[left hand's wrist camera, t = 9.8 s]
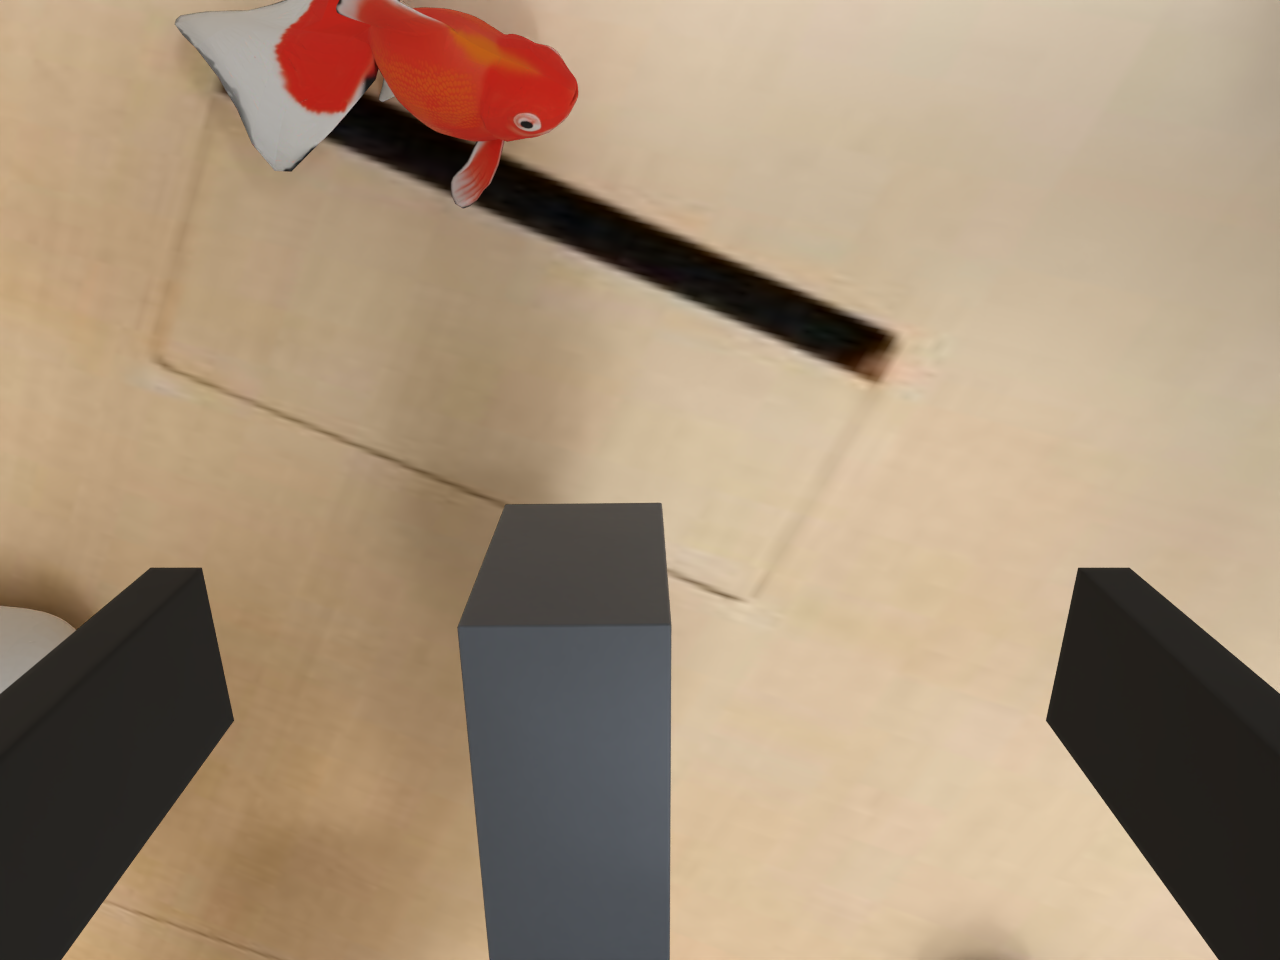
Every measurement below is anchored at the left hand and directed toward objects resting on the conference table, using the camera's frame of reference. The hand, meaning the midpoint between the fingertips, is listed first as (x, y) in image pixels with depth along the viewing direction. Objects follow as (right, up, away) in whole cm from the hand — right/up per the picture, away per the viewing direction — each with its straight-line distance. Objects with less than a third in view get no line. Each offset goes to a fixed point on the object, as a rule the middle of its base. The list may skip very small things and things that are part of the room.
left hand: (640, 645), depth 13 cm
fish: (-10, +20, +23) cm, 32 cm away
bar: (-2, -9, +22) cm, 24 cm away
